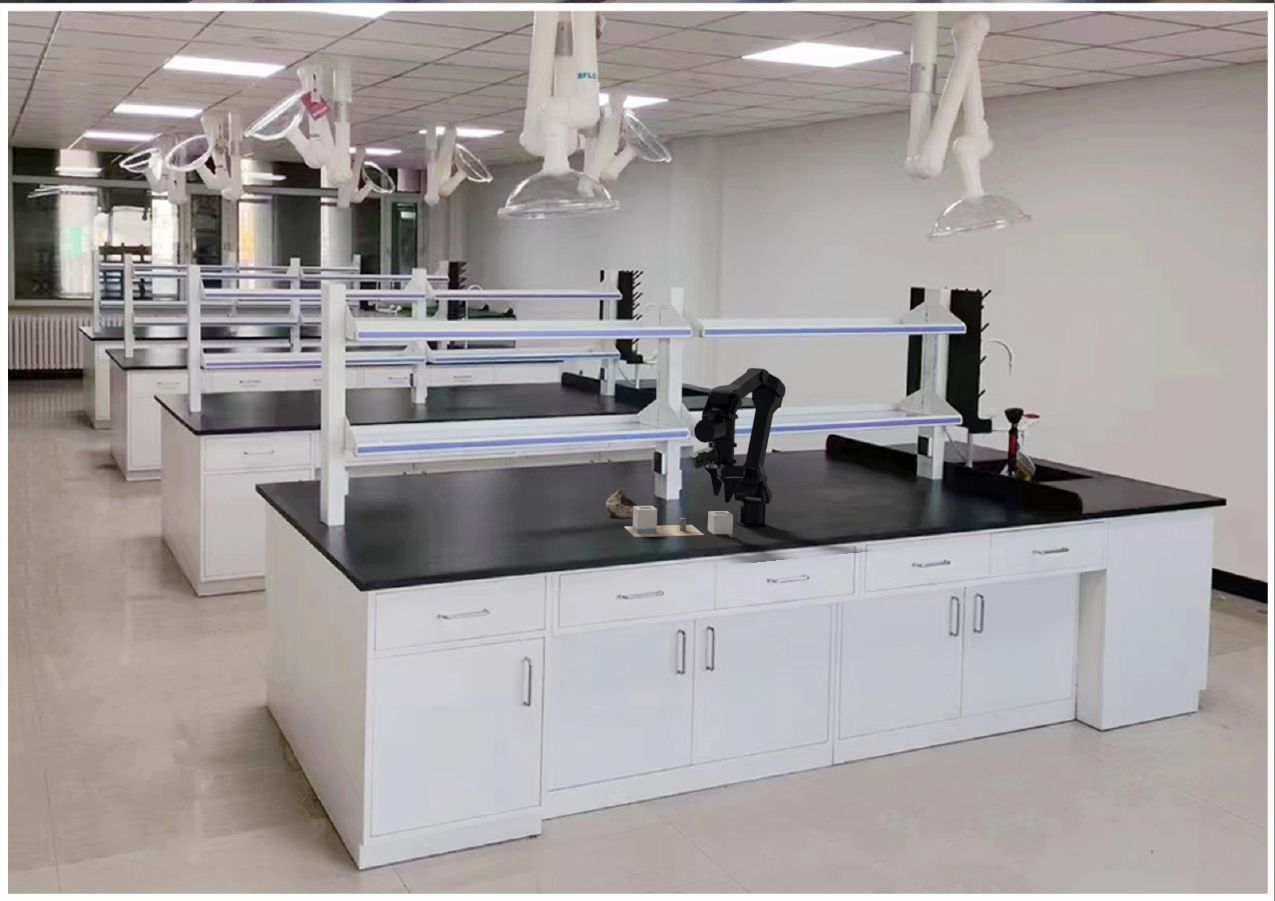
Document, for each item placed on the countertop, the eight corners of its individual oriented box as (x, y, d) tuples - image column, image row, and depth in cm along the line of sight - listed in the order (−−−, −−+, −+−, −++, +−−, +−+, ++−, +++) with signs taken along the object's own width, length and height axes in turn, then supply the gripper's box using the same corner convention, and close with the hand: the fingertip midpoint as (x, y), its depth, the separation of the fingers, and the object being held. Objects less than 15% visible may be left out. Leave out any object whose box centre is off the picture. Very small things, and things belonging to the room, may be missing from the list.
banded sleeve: (726, 533, 326) (727, 510, 326) (732, 538, 322) (733, 514, 321) (707, 534, 325) (708, 511, 324) (713, 538, 320) (714, 515, 320)
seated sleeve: (651, 528, 325) (652, 505, 324) (656, 533, 320) (657, 509, 319) (632, 529, 324) (633, 506, 323) (637, 533, 319) (637, 510, 318)
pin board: (691, 529, 331) (691, 513, 330) (704, 539, 319) (704, 523, 319) (623, 531, 327) (624, 515, 326) (634, 541, 315) (634, 525, 315)
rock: (639, 509, 348) (611, 487, 345) (652, 503, 342) (623, 480, 339) (625, 534, 343) (596, 512, 341) (637, 528, 337) (608, 506, 335)
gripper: (682, 433, 327) (680, 492, 329) (703, 444, 309) (701, 507, 311) (723, 432, 329) (721, 491, 332) (746, 443, 311) (744, 506, 314)
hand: (721, 499), depth 322 cm, fingers open, 9 cm apart
